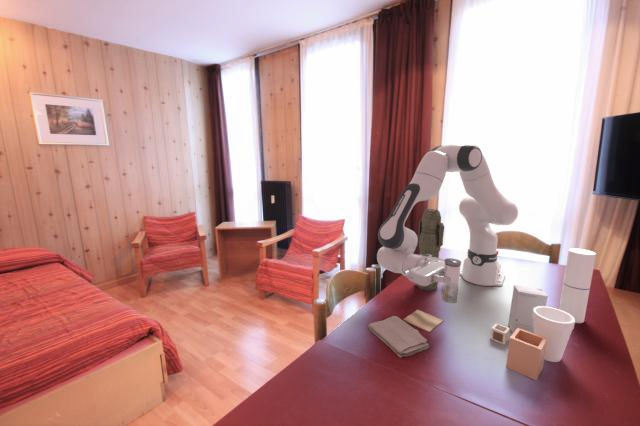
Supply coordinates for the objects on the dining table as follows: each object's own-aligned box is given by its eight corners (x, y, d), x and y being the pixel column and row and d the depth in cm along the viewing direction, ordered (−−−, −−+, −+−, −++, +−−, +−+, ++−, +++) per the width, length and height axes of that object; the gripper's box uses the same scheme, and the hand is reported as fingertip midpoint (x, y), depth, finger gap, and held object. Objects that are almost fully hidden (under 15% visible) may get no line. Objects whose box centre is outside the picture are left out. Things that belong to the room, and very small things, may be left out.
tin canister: (445, 295, 104) (448, 257, 101) (459, 300, 100) (463, 261, 98) (438, 299, 101) (442, 260, 98) (453, 304, 97) (457, 264, 94)
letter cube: (494, 334, 97) (495, 322, 96) (508, 339, 94) (510, 328, 93) (489, 339, 94) (491, 327, 93) (504, 345, 91) (505, 333, 90)
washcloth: (401, 361, 85) (402, 351, 84) (366, 329, 101) (366, 321, 100) (432, 349, 90) (432, 340, 89) (393, 320, 106) (393, 312, 105)
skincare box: (511, 333, 97) (516, 291, 94) (507, 323, 103) (512, 284, 100) (542, 338, 94) (548, 295, 91) (536, 328, 100) (542, 287, 97)
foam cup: (575, 368, 81) (583, 325, 79) (537, 363, 83) (544, 321, 80) (555, 346, 90) (561, 307, 88) (522, 343, 92) (527, 304, 90)
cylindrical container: (557, 317, 106) (567, 251, 101) (559, 310, 111) (569, 247, 106) (583, 325, 101) (596, 256, 96) (584, 317, 106) (596, 251, 102)
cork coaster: (417, 310, 112) (417, 309, 112) (443, 321, 104) (443, 320, 104) (403, 320, 105) (403, 319, 105) (429, 332, 98) (429, 331, 98)
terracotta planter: (513, 355, 86) (517, 327, 85) (543, 367, 81) (547, 338, 80) (506, 366, 82) (509, 337, 80) (536, 380, 77) (541, 349, 75)
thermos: (433, 294, 125) (439, 213, 118) (410, 285, 134) (414, 209, 127) (444, 288, 130) (450, 210, 124) (421, 279, 139) (425, 207, 133)
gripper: (400, 265, 101) (440, 277, 91) (430, 253, 114) (466, 262, 104) (399, 282, 102) (438, 296, 92) (428, 268, 116) (465, 278, 106)
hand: (453, 278), depth 98 cm, fingers closed on tin canister, 5 cm apart
